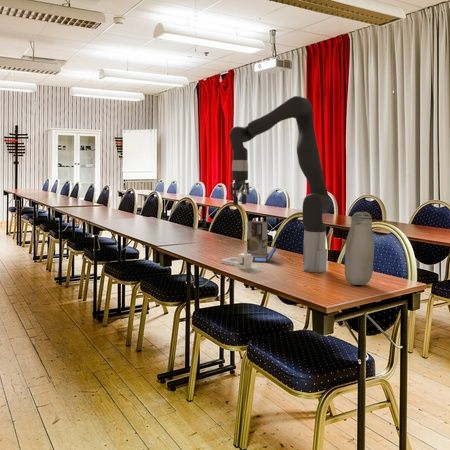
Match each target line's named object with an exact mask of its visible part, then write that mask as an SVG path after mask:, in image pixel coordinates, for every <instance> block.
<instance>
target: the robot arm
mask: <svg viewBox="0 0 450 450" xmlns="http://www.w3.org/2000/svg"><path fill="white" fill-rule="evenodd" d="M291 118H293V119H295V120H296V125H297V129H298V138H297V143H296V155H297V161H298V165H299V168H300V171H301V172H302V174H303V175H304V177H305V179H306V181H307V182H308V185H309V190H310V193H309V194H307V195H306V196H305V197H304V199H303V201H302V225H303V229H304V230H303V248H302V249H303V252H302V253H303V254H302V270H303V272H307V273H310V272H311V273H318V274H319V273H324V272H326V271H327V264H328V263H327V262H328V261H327V260H328V248H326V244H327V243H326V239H327V225H326V223H324V221H323V215H324V214H327V213H328V211H329V210H330V208H331V199H330V196H329V193H328V189H327V186H326V182H325V178H324V172H323V166H322V162H321V155H320V151H319V146H318V140H317V135H316V131H315V124H314V114H313V106H312V103H311V101H310V100H309V99H308V98H306V97H302V96H298V95H294V96H291V97H290V98H288V99H287V100H286V101H284V102H282V104H280V105H278V106H277V107H275V108H274V109H272V110H271V111H269V112H267V113H265V114H263V115H261V116H259V117H256V118H254V119H252V120H251V121H249V122H248V123H247V125H246V126H233V127H232V128H231V130H230V132H229V142H230V146H231V149H232V163H231V164H232V165H231V180H232V181H234V182H230V194H229V195H230V196H232V198H233V200H232V204H233V206H238V205H239V195H240V194H241V204H242V205H247V197H248V195H249V194H250V182H249V181H248V180H249V161H248V156H249V155H248V154H249V153H248V152H249V151H248V149H247V147H245V146H244V143H247V142H249V141H251V140H253V139H254V138H255V137H257V136H258V135H261V134H264V133H265V132H268V131H269V130H271V129H272V128H273V127H274V126H276V125H277V124H279V123H280V122H282V121H285V120H288V119H291ZM246 181H247V182H246Z"/></svg>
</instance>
